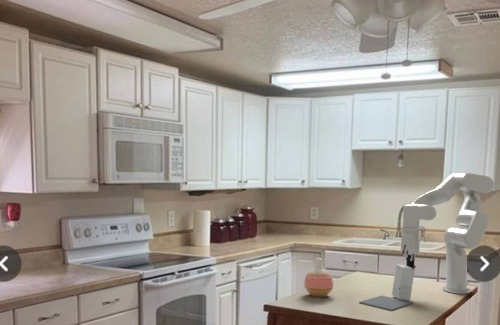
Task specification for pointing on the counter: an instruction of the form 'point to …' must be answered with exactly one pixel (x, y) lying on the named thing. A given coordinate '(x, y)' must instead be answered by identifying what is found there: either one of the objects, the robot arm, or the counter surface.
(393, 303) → the mat
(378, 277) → the counter surface
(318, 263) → the vase
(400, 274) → the skincare box
